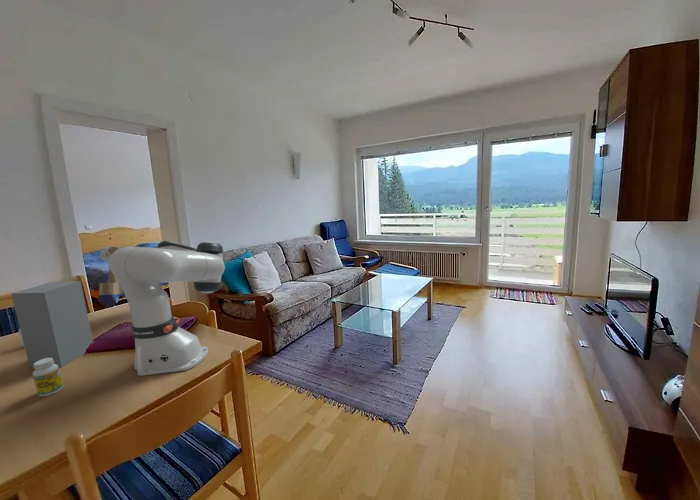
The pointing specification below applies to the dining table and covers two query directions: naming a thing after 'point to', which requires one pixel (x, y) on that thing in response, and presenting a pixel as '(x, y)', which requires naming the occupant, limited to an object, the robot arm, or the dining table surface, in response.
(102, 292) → the mallet
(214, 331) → the dining table surface
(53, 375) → the supplement bottle
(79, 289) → the pedestal
